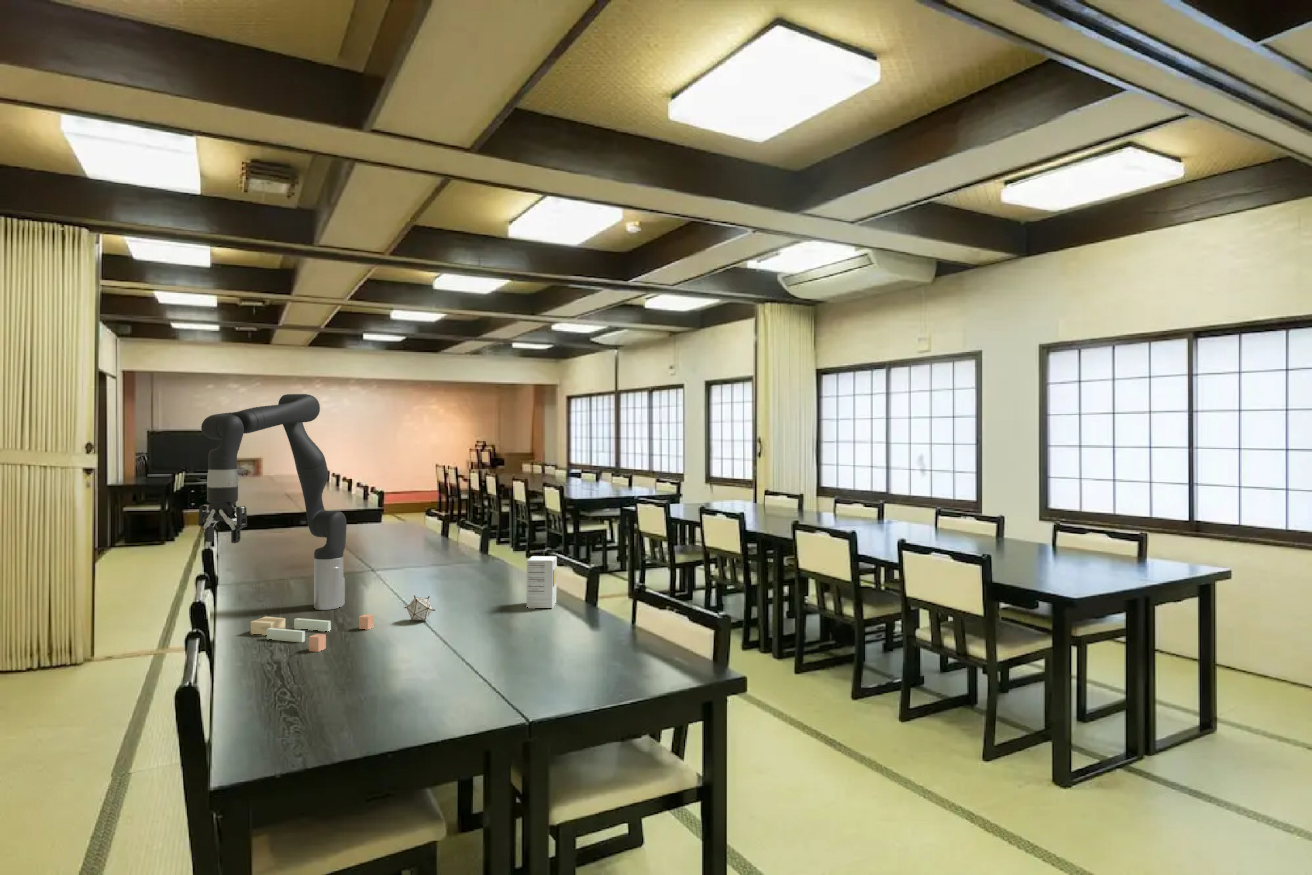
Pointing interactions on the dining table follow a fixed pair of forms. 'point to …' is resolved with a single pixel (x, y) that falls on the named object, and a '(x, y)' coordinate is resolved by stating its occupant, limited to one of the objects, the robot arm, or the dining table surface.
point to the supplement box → (541, 581)
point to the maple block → (266, 624)
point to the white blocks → (297, 634)
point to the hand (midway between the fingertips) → (222, 542)
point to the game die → (419, 608)
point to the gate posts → (319, 640)
